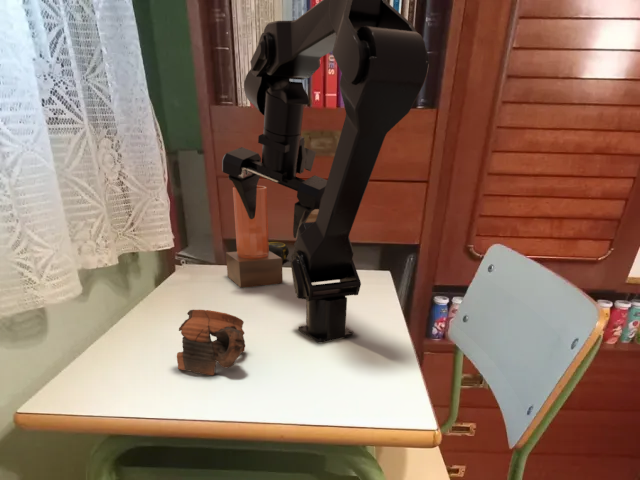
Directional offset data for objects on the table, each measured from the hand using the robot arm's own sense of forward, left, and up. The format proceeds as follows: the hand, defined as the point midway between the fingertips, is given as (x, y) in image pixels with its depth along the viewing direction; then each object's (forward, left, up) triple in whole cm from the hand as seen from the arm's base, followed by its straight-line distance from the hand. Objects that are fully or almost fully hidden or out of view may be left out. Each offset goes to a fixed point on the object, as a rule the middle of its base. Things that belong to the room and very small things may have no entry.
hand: (273, 227), depth 85 cm
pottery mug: (-23, +21, -12) cm, 34 cm away
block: (+12, -2, -12) cm, 17 cm away
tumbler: (+12, -2, -7) cm, 14 cm away
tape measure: (+24, -13, -12) cm, 30 cm away
